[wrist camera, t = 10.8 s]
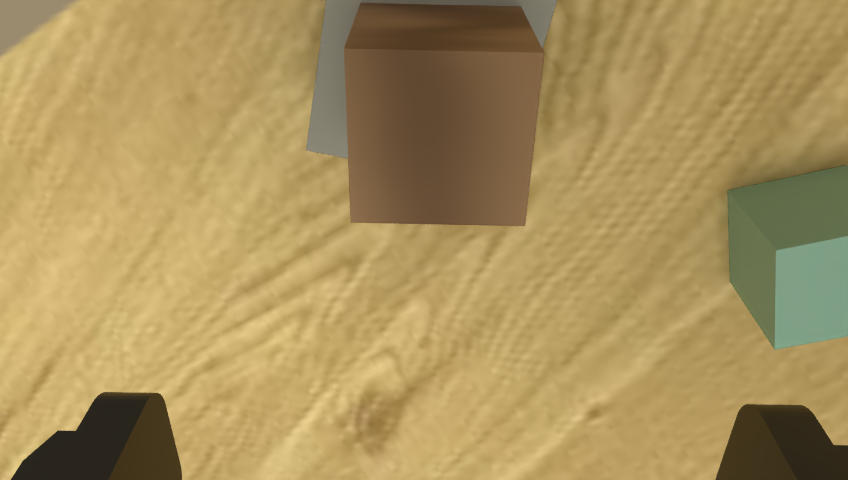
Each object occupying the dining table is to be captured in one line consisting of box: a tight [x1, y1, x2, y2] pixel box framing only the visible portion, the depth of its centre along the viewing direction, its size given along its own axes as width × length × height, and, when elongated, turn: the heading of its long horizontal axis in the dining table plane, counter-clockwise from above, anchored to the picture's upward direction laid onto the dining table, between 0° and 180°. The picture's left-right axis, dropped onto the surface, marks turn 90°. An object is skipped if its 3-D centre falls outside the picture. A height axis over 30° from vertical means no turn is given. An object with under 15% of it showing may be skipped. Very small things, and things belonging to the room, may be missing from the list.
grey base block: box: [306, 0, 557, 158], centre depth 25 cm, size 7×7×5 cm
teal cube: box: [727, 165, 848, 350], centre depth 29 cm, size 5×5×5 cm
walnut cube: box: [344, 3, 544, 226], centre depth 21 cm, size 5×5×5 cm
